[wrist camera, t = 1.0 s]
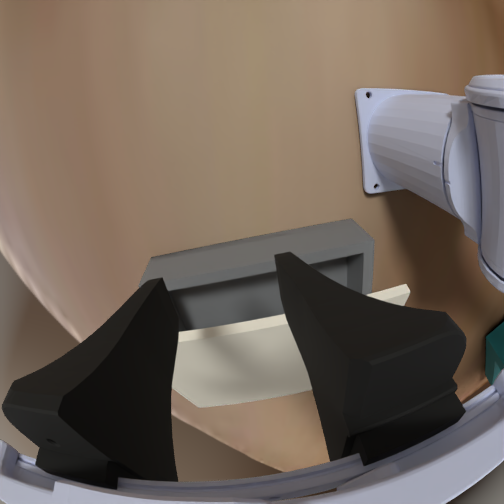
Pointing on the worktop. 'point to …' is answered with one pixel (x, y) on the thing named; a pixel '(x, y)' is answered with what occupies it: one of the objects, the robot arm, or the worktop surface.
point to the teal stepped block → (494, 353)
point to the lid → (247, 359)
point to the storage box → (258, 272)
